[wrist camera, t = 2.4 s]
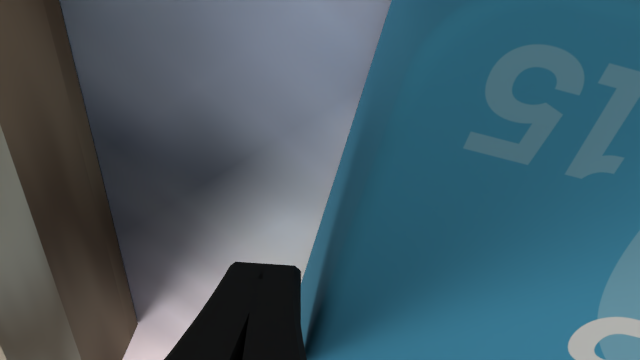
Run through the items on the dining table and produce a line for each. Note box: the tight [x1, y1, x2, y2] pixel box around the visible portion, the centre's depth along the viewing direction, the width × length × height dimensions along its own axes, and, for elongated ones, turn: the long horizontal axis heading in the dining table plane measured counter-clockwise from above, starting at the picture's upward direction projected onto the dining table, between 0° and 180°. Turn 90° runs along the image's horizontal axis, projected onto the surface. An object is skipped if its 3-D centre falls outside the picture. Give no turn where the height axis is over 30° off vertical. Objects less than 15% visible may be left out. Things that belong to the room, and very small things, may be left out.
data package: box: [301, 0, 640, 360], centre depth 12 cm, size 12×4×12 cm
